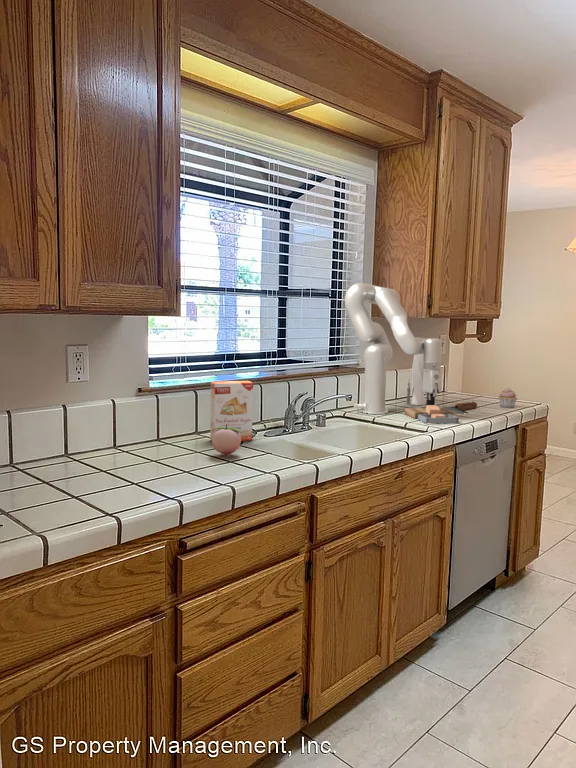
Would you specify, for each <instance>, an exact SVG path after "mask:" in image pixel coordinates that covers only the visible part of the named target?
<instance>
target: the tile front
mask: <svg viewBox="0 0 576 768" xmlns="http://www.w3.org/2000/svg"><path fill="white" fill-rule="evenodd" d="M431 418H446V416H445V415H443V414H431Z"/></svg>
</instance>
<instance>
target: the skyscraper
mask: <svg viewBox="0 0 576 768" xmlns="http://www.w3.org/2000/svg"><path fill="white" fill-rule="evenodd" d="M423 356H424V354H417V355H413V360H412V365H411V366H412V367H411V380H412V387H413V388H412V389H413V392H412V396H411V388H410V387H411V383H410V379H408V383H407V385H408V386H407V388H406V389H407V394H406V403H405V405H406V404H408V406H411V405H413V406H412V407H421V406H422V405H424V406H426V395H425V391H423V374H424V370H423ZM422 407H423V406H422Z"/></svg>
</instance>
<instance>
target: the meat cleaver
mask: <svg viewBox="0 0 576 768" xmlns="http://www.w3.org/2000/svg"><path fill="white" fill-rule="evenodd" d="M477 407H478V404H477V403H476V402H475V401H471V402H461V403H455V405H454V406H453V405H452V406H445V407H444V406H443V407H442V408H444V409H447V410H450V411H452V412H454V416H458V415H457V414H461V415H465V414H464V413H467V414H469V412H468V411H469V410H474V409H477ZM468 409H469V410H468ZM467 410H468V411H467Z"/></svg>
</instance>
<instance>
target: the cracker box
mask: <svg viewBox="0 0 576 768" xmlns="http://www.w3.org/2000/svg"><path fill="white" fill-rule="evenodd" d="M253 401H254V383H253V382H252V381H249V380H229V381H228V380H226V381H225V380H224V381H222V380H221V381H210V425H209V427H210V433H209V435H210V437H209V438H210V440H211V441H212V436H213V434H214V432H215V431H216V430H218V429H216V430H214V431H212V430H213V429H214V428H217V427H224V428H226V424H227V428H236V429H238V430H240V432H241V433H240V432H239V433H240V436H241V442H246V441H247V442H248V441H253V414H254V413H253V406H254V403H253Z"/></svg>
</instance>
